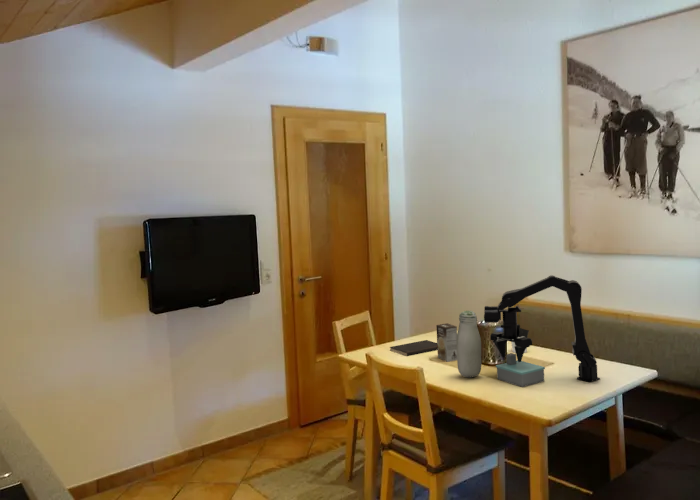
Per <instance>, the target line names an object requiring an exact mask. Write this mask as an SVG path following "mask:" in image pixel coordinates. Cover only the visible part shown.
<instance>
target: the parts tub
mask: <svg viewBox="0 0 700 500" xmlns="http://www.w3.org/2000/svg"><path fill="white" fill-rule="evenodd" d="M496 378H497V380H498V381H502V382H505V383H508V384H512V385H515V386H517V387H521V388H524V387H528V386H533V385H536V384H538V383H539V384H540V383H544V382H545V369H543V370H539V371H535V372H531V373H527V374H523V375H520V374H517V373H514V372H510V371H507V370H503V369H500V368H497V367H496Z"/></svg>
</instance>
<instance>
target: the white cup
mask: <svg viewBox="0 0 700 500" xmlns="http://www.w3.org/2000/svg"><path fill="white" fill-rule="evenodd" d="M518 338H522V337H518ZM512 340H513V339H512ZM510 343H511V350H512V353H513V354H516V351H515V346H516V345H515V342H511V341H510ZM527 352H528V347H527V348H526V349H525V351H524V354H526V353H527Z"/></svg>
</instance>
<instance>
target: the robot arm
mask: <svg viewBox="0 0 700 500" xmlns="http://www.w3.org/2000/svg"><path fill="white" fill-rule="evenodd" d="M551 287H554V288H556V289H558V290H561V291H563V292H566V295H567V298H568V300H569V303H570V308H571V309H570V310H571V317H572V322H573V323H572V326H573V331H574V341H571V346H572V350H571V351H572V354H573V356H574V357H575V358H576V360H577V361H578V376H577V377H576V379H577V380H580V381H585V382H588V383H592V382H595V381H598V380H600V379H601V377H598V362H597V359H596V357H595V355H593V354H592V353H591V350H590V348H589V345H588V342H587V339H586V334H585V327H584V321H583V320H584V319H583V314H582V313H583V312H582V306H581V304H582V303H581V302H582V290H583V289H582V286H581V285H580V283H579V282H578V281H576V280H573V279H572V280H567V279H564V278H561V277H557V276H556V275H552V274H551V275H548V276H547V277H545V278H543V279H540V280H538V281H536V282H533V283H531V284H529V285H527V286H524V287H522V288H517V289H512V290H508V291H505V292H504V293H503V294H502V296H501V301H500V302H499V303H498V305H497V306H495V305H494V306H489V305H485V306H484V315H483V320H484V321H483V322H484V323H488V324H489V323H499V321H501V320H502V324H501V325H500V328H501V329H502V331H497V332H491V334H490V335H489V337H490V341H492V343H493V344H494V346H495V347H496V348H497V350H498V352H499V354H500V356H501V358H502V359H504V358H506V343H507V342H510V343H511V342H515V345H516V346H515V351H516V353H515V354H516V360H518V362H521V361H523V360H522V359H523V356H524V354H525V353H524V351H525V349H526V348H527V349H528V348H530V346H533V340H532V338H531V337H528V336H529V331H530V330H528V329H524V328H521V325H520V324H518V315H517V313H521V312H522V308H520V307H519V305H517V304H519V303H521V302H522V301H523V300H524V299H525V298H528V297H530V296H532V295H534V294H538V293H539V292H542V291H545V290H547V289H549V288H551ZM514 306H515V307H514ZM506 308H507V309H506ZM518 337H522V338H518ZM512 339H513V340H512Z"/></svg>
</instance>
